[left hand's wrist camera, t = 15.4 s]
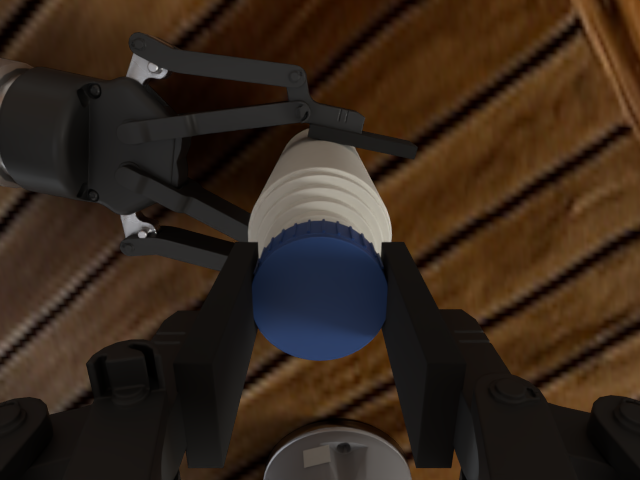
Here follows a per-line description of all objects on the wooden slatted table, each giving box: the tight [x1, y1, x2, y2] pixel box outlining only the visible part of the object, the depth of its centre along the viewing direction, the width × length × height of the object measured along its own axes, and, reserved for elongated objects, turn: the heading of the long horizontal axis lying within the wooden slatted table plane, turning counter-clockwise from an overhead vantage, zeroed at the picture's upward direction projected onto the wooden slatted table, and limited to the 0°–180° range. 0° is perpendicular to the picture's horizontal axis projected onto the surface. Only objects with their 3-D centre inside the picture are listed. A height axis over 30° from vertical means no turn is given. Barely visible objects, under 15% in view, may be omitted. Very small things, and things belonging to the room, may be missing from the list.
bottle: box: [248, 129, 392, 258], centre depth 23 cm, size 6×6×21 cm
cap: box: [252, 219, 388, 361], centre depth 14 cm, size 4×4×2 cm
